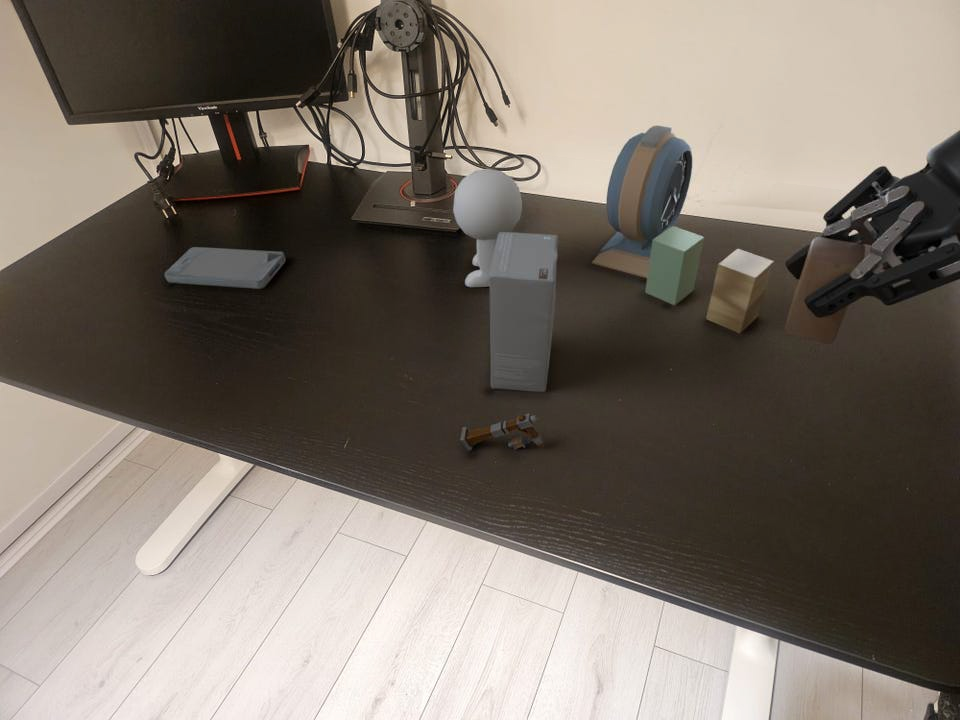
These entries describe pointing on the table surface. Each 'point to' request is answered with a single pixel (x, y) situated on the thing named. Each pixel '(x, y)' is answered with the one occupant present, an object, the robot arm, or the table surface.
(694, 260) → the line block
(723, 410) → the table surface
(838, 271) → the wooden block
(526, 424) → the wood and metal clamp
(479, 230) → the toy character
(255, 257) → the phone
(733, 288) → the line block
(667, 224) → the alarm clock
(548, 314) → the cosmetic box
